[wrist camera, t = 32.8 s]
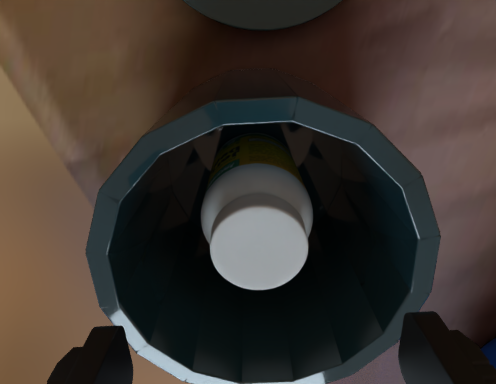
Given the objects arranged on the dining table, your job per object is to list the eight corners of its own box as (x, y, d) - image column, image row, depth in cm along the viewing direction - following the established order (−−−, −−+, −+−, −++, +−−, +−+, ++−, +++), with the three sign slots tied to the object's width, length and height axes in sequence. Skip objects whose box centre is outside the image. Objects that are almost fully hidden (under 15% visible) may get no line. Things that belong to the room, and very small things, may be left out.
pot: (172, 256, 27) (123, 401, 16) (144, 74, 22) (47, 109, 11) (346, 247, 26) (414, 389, 16) (358, 62, 21) (468, 86, 11)
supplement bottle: (272, 221, 25) (286, 321, 16) (199, 190, 24) (172, 279, 15) (310, 151, 23) (351, 222, 14) (233, 115, 22) (224, 167, 13)
